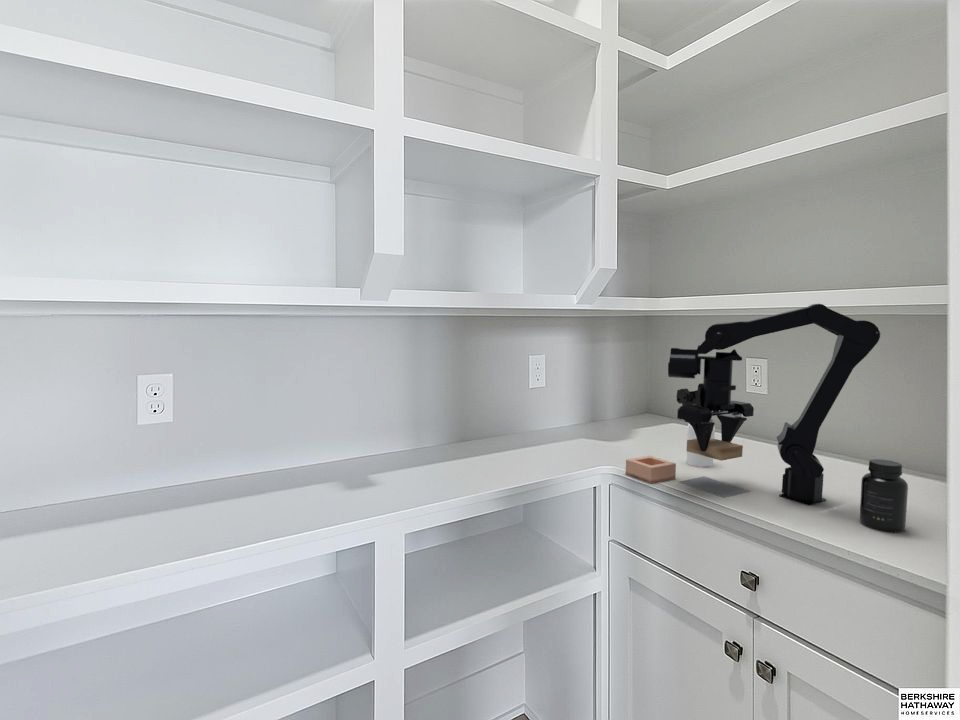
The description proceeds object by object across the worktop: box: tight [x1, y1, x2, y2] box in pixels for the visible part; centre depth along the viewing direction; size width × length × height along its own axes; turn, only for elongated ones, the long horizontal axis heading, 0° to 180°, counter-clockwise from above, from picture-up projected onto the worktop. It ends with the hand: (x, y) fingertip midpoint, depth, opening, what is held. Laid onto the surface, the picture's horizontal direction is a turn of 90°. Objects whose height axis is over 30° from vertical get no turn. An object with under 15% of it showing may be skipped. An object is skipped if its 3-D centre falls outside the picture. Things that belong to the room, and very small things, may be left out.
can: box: [685, 418, 716, 468], centre depth 136 cm, size 6×6×12 cm
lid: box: [686, 438, 744, 461], centre depth 118 cm, size 9×7×2 cm
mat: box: [678, 476, 751, 499], centre depth 118 cm, size 12×9×1 cm
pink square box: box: [625, 455, 677, 485], centre depth 125 cm, size 8×8×4 cm
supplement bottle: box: [859, 458, 909, 533], centre depth 97 cm, size 7×7×12 cm
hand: (714, 449), depth 118 cm, fingers closed on lid, 7 cm apart
